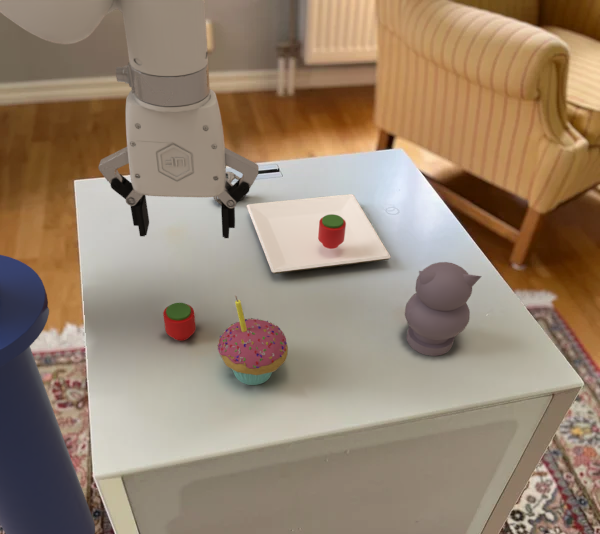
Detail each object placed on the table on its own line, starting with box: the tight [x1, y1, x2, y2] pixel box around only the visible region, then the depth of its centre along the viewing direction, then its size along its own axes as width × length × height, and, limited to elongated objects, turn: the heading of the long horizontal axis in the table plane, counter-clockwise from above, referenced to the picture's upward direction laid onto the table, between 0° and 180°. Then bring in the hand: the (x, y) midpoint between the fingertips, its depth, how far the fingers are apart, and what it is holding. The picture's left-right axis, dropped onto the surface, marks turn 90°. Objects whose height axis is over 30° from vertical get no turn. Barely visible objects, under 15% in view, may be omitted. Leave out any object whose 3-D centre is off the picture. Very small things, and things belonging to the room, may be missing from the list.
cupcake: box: [217, 295, 289, 386], centre depth 77 cm, size 9×8×12 cm
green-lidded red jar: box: [162, 302, 197, 341], centre depth 84 cm, size 4×4×4 cm
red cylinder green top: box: [318, 214, 346, 249], centre depth 96 cm, size 4×4×4 cm
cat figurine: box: [404, 261, 482, 357], centre depth 83 cm, size 8×8×12 cm
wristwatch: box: [213, 171, 244, 206], centre depth 107 cm, size 4×6×5 cm, turn 118°
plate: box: [246, 193, 392, 274], centre depth 101 cm, size 19×19×2 cm
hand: (185, 230), depth 76 cm, fingers open, 9 cm apart
